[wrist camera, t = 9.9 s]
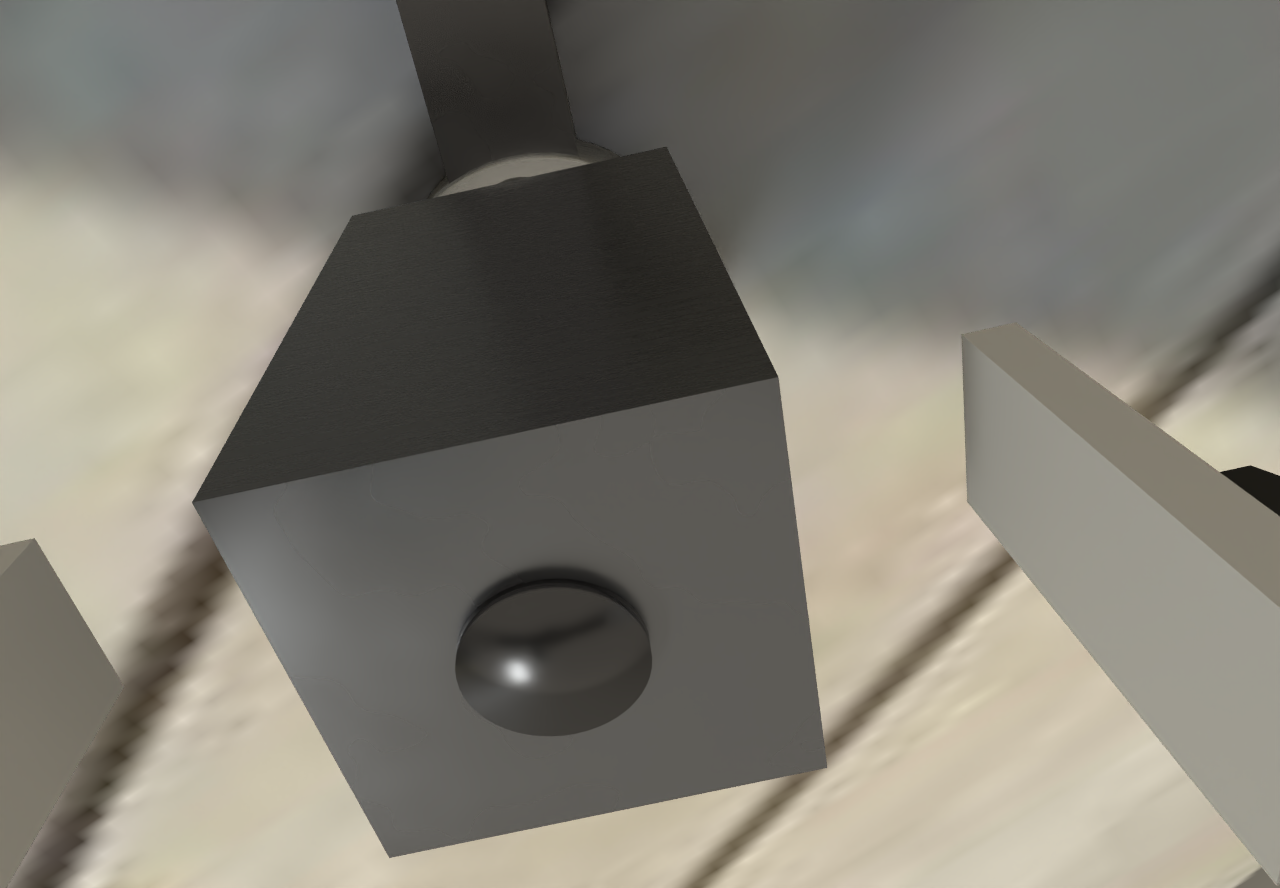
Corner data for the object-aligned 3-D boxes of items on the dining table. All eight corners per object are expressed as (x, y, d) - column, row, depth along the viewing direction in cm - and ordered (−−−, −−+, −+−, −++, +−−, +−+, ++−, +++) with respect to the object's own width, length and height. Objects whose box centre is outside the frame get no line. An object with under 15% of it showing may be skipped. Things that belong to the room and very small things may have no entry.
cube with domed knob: (447, 476, 22) (387, 873, 13) (351, 215, 18) (184, 516, 10) (713, 419, 22) (831, 781, 13) (666, 146, 18) (784, 387, 10)
